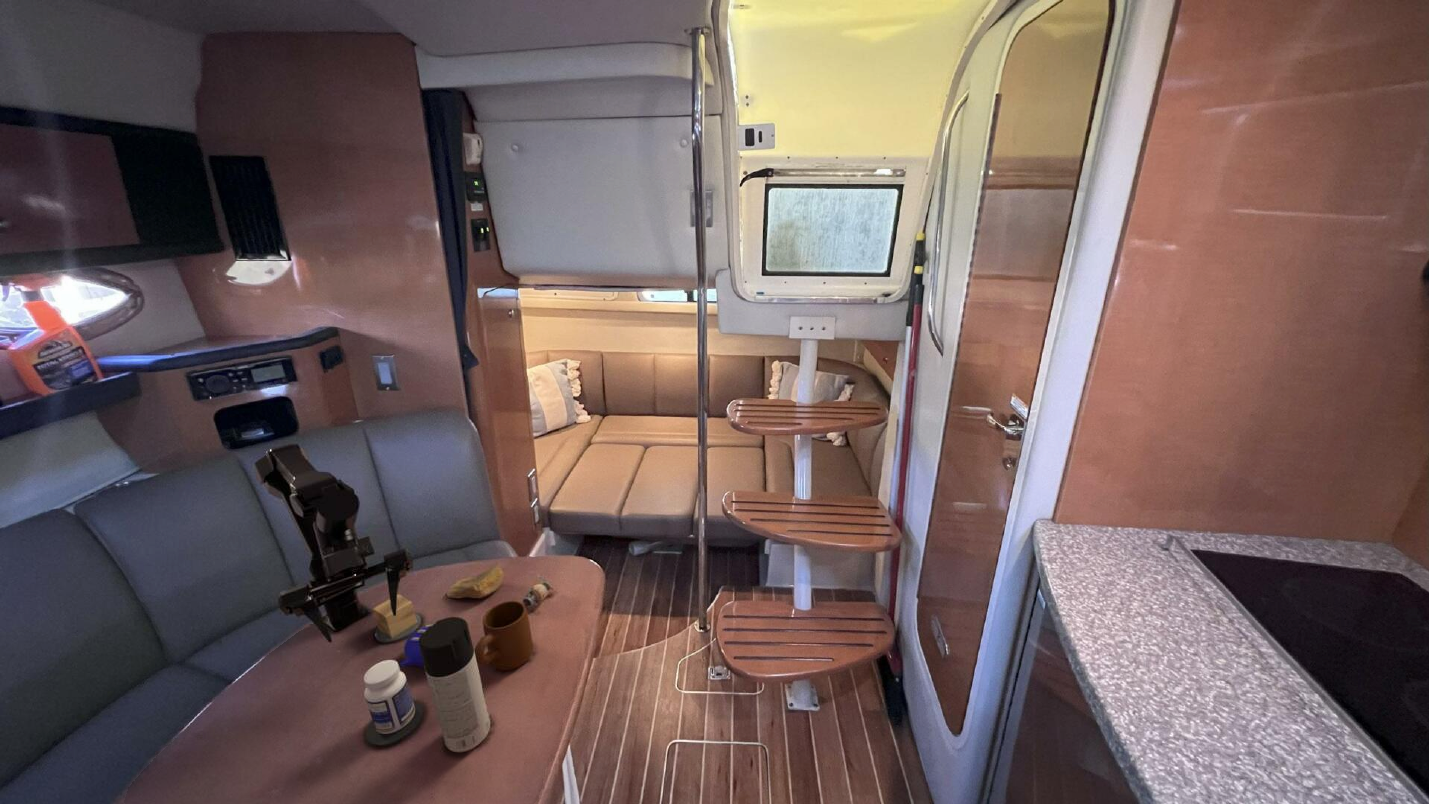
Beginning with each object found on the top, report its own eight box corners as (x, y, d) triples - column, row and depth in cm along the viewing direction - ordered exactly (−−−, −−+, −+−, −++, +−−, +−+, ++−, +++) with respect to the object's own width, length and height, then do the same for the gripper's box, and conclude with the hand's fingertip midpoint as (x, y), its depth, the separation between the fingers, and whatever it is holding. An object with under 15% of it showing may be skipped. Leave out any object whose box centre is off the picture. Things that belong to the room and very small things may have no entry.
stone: (470, 589, 109) (440, 589, 114) (480, 608, 111) (450, 607, 115) (502, 562, 117) (472, 562, 121) (511, 580, 118) (481, 580, 123)
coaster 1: (367, 633, 105) (367, 631, 105) (407, 609, 111) (407, 607, 111) (388, 648, 101) (388, 646, 101) (429, 622, 107) (428, 620, 107)
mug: (502, 696, 90) (493, 651, 87) (464, 687, 92) (454, 644, 89) (542, 644, 100) (534, 603, 98) (507, 637, 102) (499, 597, 99)
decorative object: (383, 638, 94) (433, 609, 103) (385, 667, 95) (435, 635, 104) (424, 657, 90) (472, 625, 99) (426, 687, 91) (474, 652, 100)
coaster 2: (356, 731, 84) (356, 729, 84) (407, 695, 90) (406, 693, 90) (382, 756, 80) (381, 754, 80) (433, 716, 86) (432, 714, 86)
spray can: (500, 722, 85) (478, 619, 79) (469, 760, 79) (442, 653, 72) (467, 711, 87) (443, 611, 81) (434, 748, 81) (405, 642, 75)
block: (378, 629, 105) (372, 608, 104) (404, 614, 109) (398, 593, 108) (391, 638, 103) (385, 617, 101) (417, 622, 107) (411, 602, 105)
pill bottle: (409, 698, 89) (396, 651, 86) (420, 719, 85) (406, 670, 82) (371, 720, 85) (355, 671, 82) (380, 742, 82) (364, 692, 78)
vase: (539, 574, 109) (517, 598, 107) (558, 591, 110) (536, 616, 108) (538, 572, 114) (516, 594, 112) (556, 588, 115) (535, 611, 113)
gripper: (261, 550, 81) (284, 648, 76) (398, 508, 92) (425, 592, 87) (275, 569, 89) (297, 659, 85) (399, 529, 100) (424, 606, 96)
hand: (363, 628), depth 88 cm, fingers open, 9 cm apart
